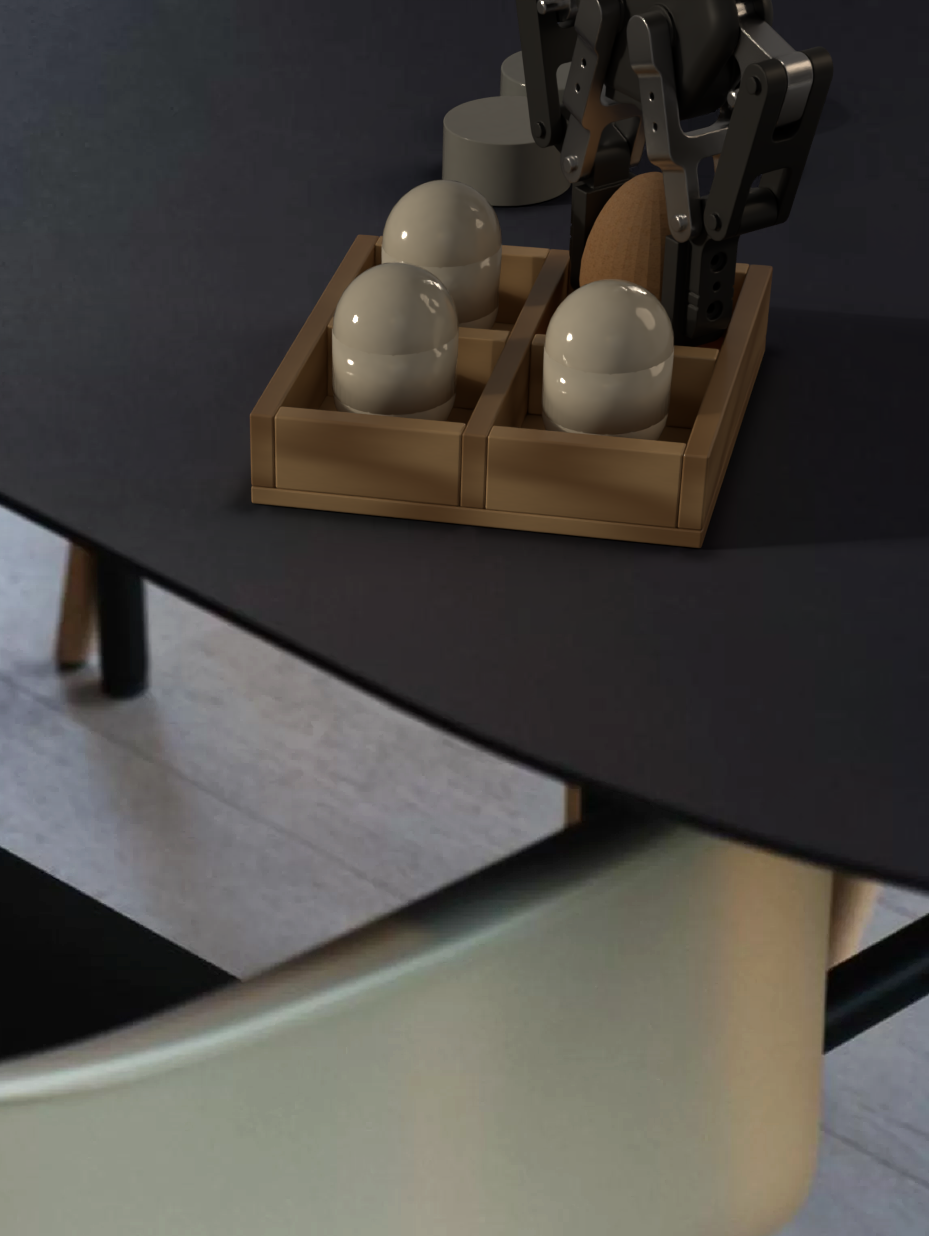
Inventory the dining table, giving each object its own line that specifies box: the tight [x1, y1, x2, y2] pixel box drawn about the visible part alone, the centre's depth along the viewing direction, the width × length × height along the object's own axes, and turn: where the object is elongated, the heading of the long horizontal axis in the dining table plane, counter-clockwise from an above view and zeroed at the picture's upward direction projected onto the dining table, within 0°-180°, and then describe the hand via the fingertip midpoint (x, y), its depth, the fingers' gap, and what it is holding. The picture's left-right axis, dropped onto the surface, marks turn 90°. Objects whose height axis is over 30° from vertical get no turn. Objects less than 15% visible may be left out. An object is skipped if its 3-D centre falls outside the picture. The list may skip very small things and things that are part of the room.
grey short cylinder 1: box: [499, 50, 615, 125], centre depth 116 cm, size 5×5×2 cm
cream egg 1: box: [381, 179, 503, 330], centre depth 98 cm, size 4×4×6 cm
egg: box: [579, 171, 671, 303], centre depth 95 cm, size 4×4×6 cm
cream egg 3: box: [541, 279, 674, 441], centre depth 91 cm, size 4×4×6 cm
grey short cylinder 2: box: [441, 95, 572, 207], centre depth 112 cm, size 5×5×2 cm
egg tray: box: [249, 234, 774, 549], centre depth 96 cm, size 14×14×3 cm
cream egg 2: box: [332, 262, 459, 421], centre depth 93 cm, size 4×4×6 cm
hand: (646, 312), depth 97 cm, fingers closed on egg, 4 cm apart
